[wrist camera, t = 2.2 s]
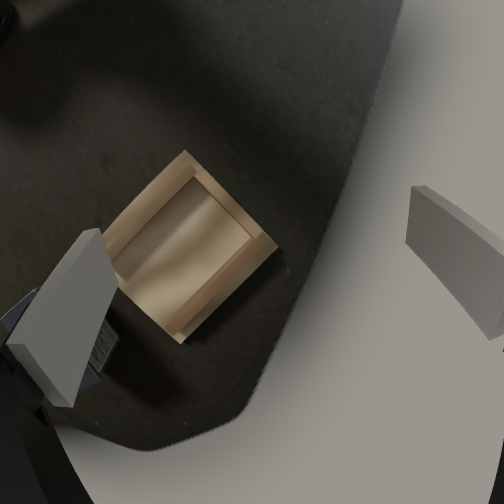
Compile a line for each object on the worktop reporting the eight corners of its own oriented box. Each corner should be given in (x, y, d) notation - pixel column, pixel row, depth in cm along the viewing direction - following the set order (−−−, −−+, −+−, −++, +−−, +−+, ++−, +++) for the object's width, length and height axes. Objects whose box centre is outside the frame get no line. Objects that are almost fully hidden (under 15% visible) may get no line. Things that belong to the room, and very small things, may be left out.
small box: (39, 292, 32) (-4, 318, 22) (73, 265, 33) (34, 285, 23) (86, 361, 34) (60, 404, 24) (123, 338, 35) (102, 380, 25)
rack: (89, 252, 33) (78, 256, 29) (185, 151, 34) (184, 144, 30) (180, 339, 36) (179, 352, 33) (276, 245, 37) (285, 249, 33)
